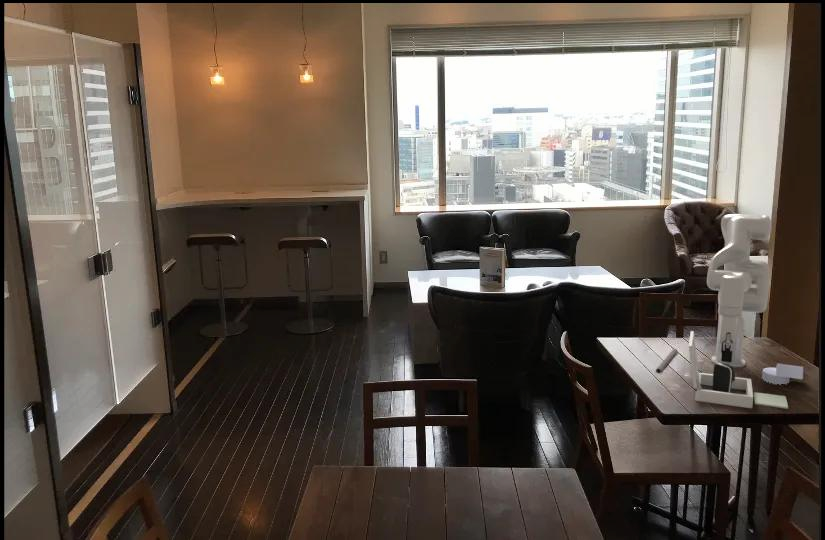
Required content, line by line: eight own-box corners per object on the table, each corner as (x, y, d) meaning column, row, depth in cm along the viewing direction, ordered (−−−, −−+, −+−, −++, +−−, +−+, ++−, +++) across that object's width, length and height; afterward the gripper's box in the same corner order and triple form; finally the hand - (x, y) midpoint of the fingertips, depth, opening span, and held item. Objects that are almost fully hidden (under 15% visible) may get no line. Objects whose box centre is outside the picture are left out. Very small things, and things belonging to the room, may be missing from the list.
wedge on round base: (800, 379, 251) (762, 374, 257) (802, 362, 250) (763, 357, 256) (801, 388, 243) (761, 382, 249) (803, 370, 242) (763, 365, 248)
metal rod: (677, 353, 283) (677, 349, 282) (660, 373, 261) (661, 368, 260) (672, 352, 284) (672, 348, 283) (655, 372, 262) (656, 367, 261)
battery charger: (735, 397, 236) (737, 366, 234) (727, 399, 235) (730, 368, 232) (718, 390, 242) (721, 360, 240) (711, 392, 241) (713, 362, 238)
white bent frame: (687, 381, 252) (690, 330, 247) (750, 389, 243) (755, 337, 239) (684, 399, 236) (688, 345, 231) (752, 408, 227) (757, 352, 223)
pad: (753, 393, 239) (753, 392, 239) (785, 397, 235) (785, 396, 235) (754, 404, 230) (755, 402, 230) (787, 408, 226) (788, 407, 226)
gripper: (718, 303, 241) (714, 349, 244) (718, 315, 226) (714, 363, 229) (741, 305, 238) (737, 351, 241) (743, 317, 222) (738, 366, 226)
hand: (726, 357), depth 235 cm, fingers open, 9 cm apart
